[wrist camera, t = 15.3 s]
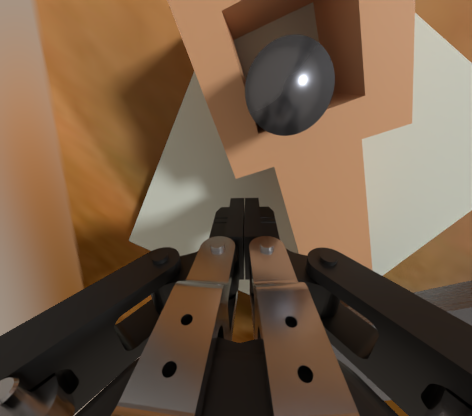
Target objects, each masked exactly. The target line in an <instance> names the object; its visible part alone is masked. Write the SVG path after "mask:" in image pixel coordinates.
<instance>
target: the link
mask: <svg viewBox="0 0 472 416" xmlns="http://www.w3.org/2000/svg"><path fill="white" fill-rule="evenodd" d="M167 1H168V3H169V6H170V9H171V11H172V14H173V16H174V19H175V22H176V24H177V27H178V29H179V32H180V35H181V37H182V40H183V42H184V45H185V48H186V50H187V53H188V56H189V58H190V61H191V63H192V66H193V69H194V71H195V74H196V76H197V79H198V82H199V84H200V87H201V89H202V92H203V95H204V97H205V100H206V102H207V105H208V108H209V110H210V113H211V115H212V118H213V121H214V123H215V126H216V128H217V131H218V134H219V136H220V139H221V141H222V144H223V147H224V149H225V152H226V155H227V157H228V160H229V162H230V165H231V168H232V170H233V173H234V175H235V178H236V179H237V178H241V177H244V176H247V175H250V174H253V173H256V172H260V171H263V170H266V169H269V168H272V167H274V168H275V172H276V175H277V179H278V182H279V186H280V189H281V193H282V196H283V199H284V203H285V206H286V210H287V213H288V217H289V220H290V224H291V227H292V231H293V234H294V238H295V241H296V245H297V248H298V252H299V254H302V255H306V256H308V253H309V252H310V251H311V250H313V249H315V248H330V249H333V250H336V251H338V252H340V253H342V254H344V255H345V256H347V257H349V258H351V259H353V260H354V261H356V262H358V263H360V264H362V265H363V266H365V267H367V268H369V269H371V270H372V258H371V246H370V234H369V221H368V209H367V197H366V185H365V173H364V161H363V148H362V139H364V138H367V137H370V136H374V135H377V134H380V133H383V132H386V131H389V130H393V129H396V128H399V127H402V126H405V125H408V124H412V109H413V69H414V28H415V0H167ZM312 2H313V4H314V11H315V18H316V25H317V32H318V39H319V43H320V44H321V45H322V46H323V47H324V48H325V50H326V51H327V52H328V54H329V56H330V58H331V61H332V63H333V67H334V73H335V85H334V91H333V95H332V98H331V101H330V104H329V106H328V108H327V109H326V111H325V112H324V114H323V115H322V117H321V118H320V119H319V120H318V121H317V122H316V123H315V124H314V125H312V126H311V127H310V128H308V129H307V130H305V131H303V132H301V133H298V134H295V135H289V136H280V135H275V134H272V133H269V132H267V131H265V130H264V129H262V128H261V127H260V126H259V125H258V124H257V123H256V122H255V121H254V120H253V118H252V116H251V115H250V113H249V110H248V107H247V104H246V99H245V83H246V80H245V77H244V74H243V70H242V67H241V63H240V60H239V57H238V53H237V50H236V46H235V43H234V40H235V39H237V38H239V37H241V36H243V35H245V34H247V33H249V32H251V31H254V30H256V29H258V28H260V27H262V26H264V25H266V24H268V23H270V22H272V21H275V20H277V19H279V18H281V17H283V16H285V15H287V14H289V13H291V12H293V11H296V10H298V9H300V8H302V7H304V6H306V5H308V4H310V3H312ZM372 271H373V270H372ZM340 303H342V304H343V305H344V306H346V307H348V305H347V304H346V303H344V302H343V301H342V300H340Z"/></svg>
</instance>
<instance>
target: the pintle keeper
mask: <svg viewBox="0 0 472 416" xmlns="http://www.w3.org/2000/svg"><path fill="white" fill-rule="evenodd" d="M334 85H335V73H334V67H333V63H332V61H331V58H330V56H329V54H328V52H327V51H326V50H325V48H324V47H323V46H322V45H321V44H320V43H319V42H317V41H316V40H314V39H312V38H310V37H308V36H304V35H295V34H294V35H287V36H283V37H280V38H278V39H275V40H274V41H272V42H270V43H269V44H268V45H267V46H265V47H264V48H263V49H262V50H261V51H260V52H259V53H258V55H257V56H256V58H255V59H254V61H253V63H252V64H251V66H250V69H249V71H248V75H247V78H246V83H245V99H246V104H247V107H248V110H249V113H250V115H251V116H252V118H253V120H254V121H255V122H256V123H257V124H258V125H259V126H260V127H261V128H262V129H264V130H265V131H267V132H269V133H272V134H275V135H280V136H289V135H295V134H298V133H301V132H303V131H305V130H307V129H308V128H310V127H311V126H312V125H314V124H315V123H316V122H317V121H318V120H319V119H320V118H321V117H322V115H323V114H324V112H325V111H326V109H327V108H328V106H329V104H330V101H331V98H332V95H333V91H334ZM414 294H416V295H417V296H419V297H421V298H423V299H425V300H426V301H428V302H430V303H432V304H434V305H435V306H437V307H439V308H441V309H443V310H444V311H446V312H448V313H450V314H452V315H453V316H455V317H457V318H459V319H461V320H462V321H464V322H466V323H468V324H470V325H471V326H472V281H467V282H463V283H458V284H453V285H448V286H444V287H439V288H434V289H429V290H424V291H420V292H415V293H414ZM347 308H348V309H350V310H351V311H352V312H354V313H355V314H357V315H358V316H359V317H361V318H362V319H363V320H365V321H366V322H367V323H369V324H370V325H371V326H373V327H374V328H375V329H376V327H375V326H374V325H373V324H372V323H371V322H370V321H369V320H368V319H366V318H365V317H364V316H362V315H361V314H359V313H358V312H357V311H355V310H354V309H353V308H351V307H350V306H348V307H347ZM330 344H331V343H330ZM331 346H332V349H333V351H334V354H335V356H336V358H337V359H338V360H339V361H341V362H342V363H344V364H345V365H346V366H348V367H349V368H350V369H351V370H353V371H354V372H355V373H356V374H357V375H358V376H359V377H360V378H361V379H362V380H363V381H364V382H365V383H366V384H367V385H368V386H369V387H370V388H371V389H372V390H373V391H374V392H375V393H376V394H377V395H378V396H379V397H380V398H381V399H382V400H383V401H384V400H391V399H390V398H389V397H388V396H387V395H386V394H385V393H384V392H383V391H382V390H380V389H379V388H378V387H377V386H376V385H375V384H374V383H373V382H372V381H371V380H370V379H369V378H367V377H366V376H365V375H364V374H363V373H362V372H361V371H360V370H359V369H358V368H357V367H356V366H354V365H353V364H352V363H351V362H350V361H349V360H348V359H347V358H346V357H345V356H344V355H343V354H341V353H340V352H339V351H338V350H337V349H336V348H335V347H334V346H333V345H332V344H331Z"/></svg>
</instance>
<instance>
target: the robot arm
mask: <svg viewBox="0 0 472 416" xmlns="http://www.w3.org/2000/svg"><path fill="white" fill-rule="evenodd" d="M244 257H245V280H250V303H251V313H252V323H253V333H254V340H251V341H247V342H243V343H236V342H233V341H232V333H233V326H234V319H235V311H236V304H237V297H238V288H239V280H244ZM149 295H151V297H152V300H150V301H149V302H147V303H146V304H145V305H143V306H142V307H141V308H139V309H138V310H136V311H135V312H134V313H132V314H131V315H130V316H128V317H127V318H125V319H124V320H123V321H121V322H120V323H118V324H116V325H115V323H116V321H117V320H118V318H119V317H120V316H121V315H123V314H124V313H125V312H127V311H128V310H130V309H131V308H132V307H134V306H135V305H137V304H138V303H140V302H141V301H142V300H144V299H145V298H147V297H148V296H149ZM340 300H342V301H343V302H344V303H346V304H347V305H348V306H350V307H351V308H353V309H354V310H355V311H357V312H358V313H359V314H361V315H362V316H364V317H365V318H366V319H368V320H369V321H370V322H371V323H372V324H373V325H374V326H375V327H376V329H375V328H374V327H373V326H371V325H370V324H369V323H367V322H366V321H365V320H363V319H362V318H361V317H359V316H358V315H357V314H355V313H354V312H352V311H351V310H350V309H348V308H347V307H346V306H344V305H343V304H342V303H340ZM330 343H331V344H332V345H333V346H334V347H335V348H336V349H337V350H338V351H339V352H340V353H341V354H343V355H344V356H345V357H346V358H347V359H348V360H349V361H350V362H351V363H352V364H353V365H354V366H356V367H357V368H358V369H359V370H360V371H361V372H362V373H363V374H364V375H365V376H366V377H367V378H369V379H370V380H371V381H372V382H373V383H374V384H375V385H376V386H377V387H378V388H379V389H380V390H382V391H383V392H384V393H385V394H386V395H387V396H388V397H389V398H390V399H391V400H392V401H393V402H395V403H396V404H397V405H398V406H399V407H400V408H401V409H402V410H403V411H404V412H405V413H406V414H408V415H409V416H472V326H471V325H470V324H468V323H466V322H464V321H462V320H461V319H459V318H457V317H455V316H453V315H452V314H450V313H448V312H446V311H444V310H443V309H441V308H439V307H437V306H435V305H434V304H432V303H430V302H428V301H426V300H425V299H423V298H421V297H419V296H417V295H416V294H414V293H412V292H410V291H408V290H407V289H405V288H403V287H401V286H399V285H398V284H396V283H394V282H392V281H390V280H389V279H387V278H385V277H383V276H381V275H380V274H378V273H376V272H374V271H372V270H371V269H369V268H367V267H365V266H363V265H362V264H360V263H358V262H356V261H354V260H353V259H351V258H349V257H347V256H345V255H344V254H342V253H340V252H338V251H336V250H333V249H330V248H315V249H313V250H311V251H310V252H309V253H308V256H306V255H302V254H298V253H294V252H291V251H289V250H288V249H286V248H285V245H284V243H283V242H282V241H281V240H280V238H279V233H278V229H277V224H276V220H275V215H274V211H273V210H272V209H271V208H270V207H259V198H245V207H244V198H231V200H230V206H229V207H221V208H220V209H219V210H218V211H216V214H215V217H214V221H213V225H212V229H211V232H210V236H209V239H207V240H205V241H204V242H203V243H202V244H201V246H200V248H199V251H197V252H194V253H191V254H187V255H182V256H180V255H179V252H178V251H177V250H176V249H174V248H171V247H162V248H158V249H155V250H153V251H151V252H149V253H147V254H145V255H144V256H142V257H140V258H138V259H136V260H135V261H133V262H131V263H129V264H128V265H126V266H124V267H122V268H121V269H119V270H117V271H115V272H113V273H112V274H110V275H108V276H106V277H105V278H103V279H101V280H99V281H97V282H96V283H94V284H92V285H90V286H89V287H87V288H85V289H83V290H81V291H80V292H78V293H76V294H74V295H73V296H71V297H69V298H67V299H66V300H64V301H62V302H60V303H58V304H57V305H55V306H53V307H51V308H49V309H48V310H46V311H44V312H42V313H41V314H39V315H37V316H35V317H33V318H32V319H30V320H28V321H26V322H25V323H23V324H21V325H19V326H17V327H16V328H14V329H12V330H10V331H9V332H7V333H5V334H3V335H2V336H0V416H73V415H74V414H75V413H76V412H77V411H78V410H79V409H80V408H82V407H83V406H84V405H85V404H86V403H87V402H88V401H90V400H91V399H92V398H93V397H94V396H95V395H96V394H98V393H99V392H100V391H101V390H102V389H103V388H104V387H105V388H104V389H103V390H102V391H101V392H100V393H99V394H98V395H97V396H96V397H94V398H93V399H92V400H91V401H90V402H89V403H88V404H87V405H86V406H85V407H84V408H83V409H82V410H80V411H79V412H78V413H77V414H76V415H75V416H398V415H397V414H396V413H395V412H394V411H393V410H392V409H391V408H390V407H389V406H388V405H387V404H386V403H385V402H384V401H383V400H382V399H381V398H380V397H379V396H378V395H377V394H376V393H375V392H374V391H373V390H372V389H371V388H370V387H369V386H368V385H367V384H366V383H365V382H364V381H363V380H362V379H361V378H360V377H359V376H358V375H357V374H356V373H355V372H354V371H353V370H351V369H350V368H349V367H348V366H346V365H345V364H344V363H342V362H341V361H339V360H338V359H337V358H336V356H335V354H334V351H333V349H332V346H331V344H330ZM138 357H139V358H138ZM137 358H138V359H137ZM136 359H137V360H136ZM135 360H136V361H135ZM112 380H113V381H112ZM111 381H112V382H111ZM110 382H111V383H110ZM109 383H110V384H109Z"/></svg>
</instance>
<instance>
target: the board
mask: <svg viewBox="0 0 472 416" xmlns="http://www.w3.org/2000/svg"><path fill="white" fill-rule="evenodd" d="M294 34H295V35H304V36H308V37H310V38H312V39H314V40H316V41H317V42H319V39H318V32H317V25H316V18H315V11H314V4H313V2H312V3H310V4H308V5H306V6H304V7H302V8H300V9H298V10H296V11H293V12H291V13H289V14H287V15H285V16H283V17H281V18H279V19H277V20H275V21H272V22H270V23H268V24H266V25H264V26H262V27H260V28H258V29H256V30H254V31H251V32H249V33H247V34H245V35H243V36H241V37H239V38H237V39H235V40H234V43H235V46H236V50H237V53H238V57H239V60H240V63H241V67H242V70H243V74H244V77H245V80H246V78H247V75H248V71H249V69H250V66H251V64H252V63H253V61H254V59H255V58H256V56H257V55H258V53H259V52H260V51H261V50H262V49H263V48H264V47H265V46H267V45H268V44H269V43H270V42H272V41H274V40H275V39H278V38H280V37H283V36H287V35H294ZM362 148H363V161H364V173H365V185H366V197H367V209H368V221H369V234H370V246H371V258H372V270H373V271H374V272H376V273H378V274H380V275H381V276H383V275H384V274H385V273H387V272H388V271H389V270H391V269H392V268H393V267H395V266H396V265H398V264H399V263H400V262H402V261H403V260H404V259H406V258H407V257H408V256H410V255H411V254H413V253H414V252H415V251H417V250H418V249H419V248H421V247H422V246H423V245H425V244H426V243H427V242H429V241H430V240H432V239H433V238H434V237H436V236H437V235H438V234H440V233H441V232H442V231H444V230H445V229H447V228H448V227H449V226H451V225H452V224H453V223H455V222H456V221H457V220H459V219H460V218H462V217H463V216H464V215H466V214H467V213H468V212H470V211H471V210H472V63H471V62H470V61H469V60H468V59H466V58H465V57H464V56H463V55H462V54H461V53H460V52H459V51H457V50H456V49H455V48H454V47H453V46H452V45H451V44H450V43H448V42H447V41H446V40H445V39H444V38H443V37H442V36H441V35H439V34H438V33H437V32H436V31H435V30H434V29H433V28H432V27H430V26H429V25H428V24H427V23H426V22H425V21H424V20H423V19H422V18H420V17H419V16H418V15H417V14H416V13H415V28H414V69H413V109H412V124H408V125H405V126H402V127H399V128H396V129H393V130H389V131H386V132H383V133H380V134H377V135H374V136H370V137H367V138H364V139H362ZM231 198H244V207H245V198H259V207H270V208H271V209H272V210H273V211H274V215H275V220H276V224H277V229H278V233H279V238H280V240H281V241H282V242H283V243H284V245H285V248H286V249H288V250H289V251H291V252H294V253H298V254H299V252H298V248H297V245H296V241H295V238H294V234H293V231H292V227H291V224H290V220H289V217H288V213H287V210H286V206H285V203H284V199H283V196H282V193H281V189H280V186H279V182H278V179H277V175H276V172H275V168H274V167H272V168H269V169H266V170H263V171H260V172H256V173H253V174H250V175H247V176H244V177H241V178H237V179H236V178H235V175H234V173H233V170H232V168H231V165H230V162H229V160H228V157H227V155H226V152H225V149H224V147H223V144H222V141H221V139H220V136H219V134H218V131H217V128H216V126H215V123H214V121H213V118H212V115H211V113H210V110H209V108H208V105H207V102H206V100H205V97H204V95H203V92H202V89H201V87H200V84H199V82H198V79H197V76H196V74H195V71H194V73H193V76H192V78H191V81H190V83H189V86H188V89H187V91H186V94H185V96H184V99H183V102H182V104H181V107H180V109H179V112H178V114H177V117H176V120H175V122H174V125H173V127H172V130H171V133H170V135H169V138H168V140H167V143H166V145H165V148H164V151H163V153H162V156H161V158H160V161H159V164H158V166H157V169H156V171H155V174H154V177H153V179H152V182H151V184H150V187H149V189H148V192H147V195H146V197H145V200H144V202H143V205H142V208H141V210H140V213H139V215H138V218H137V221H136V223H135V226H134V228H133V231H132V233H131V236H130V239H129V241H130V242H132V243H134V244H137V245H139V246H141V247H143V248H146V249H148V250H150V251H153V250H155V249H158V248H162V247H171V248H174V249H176V250H177V251H178V252H179V255H180V256H182V255H187V254H191V253H194V252H197V251H199V248H200V246H201V244H202V243H203V242H204V241H205V240H207V239H209V236H210V232H211V229H212V225H213V221H214V217H215V214H216V211H218V210H219V209H220V208H221V207H229V206H230V200H231ZM238 290H239V291H242V292H244V293H246V294H248V295H250V280H245V257H244V280H239V288H238Z"/></svg>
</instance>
